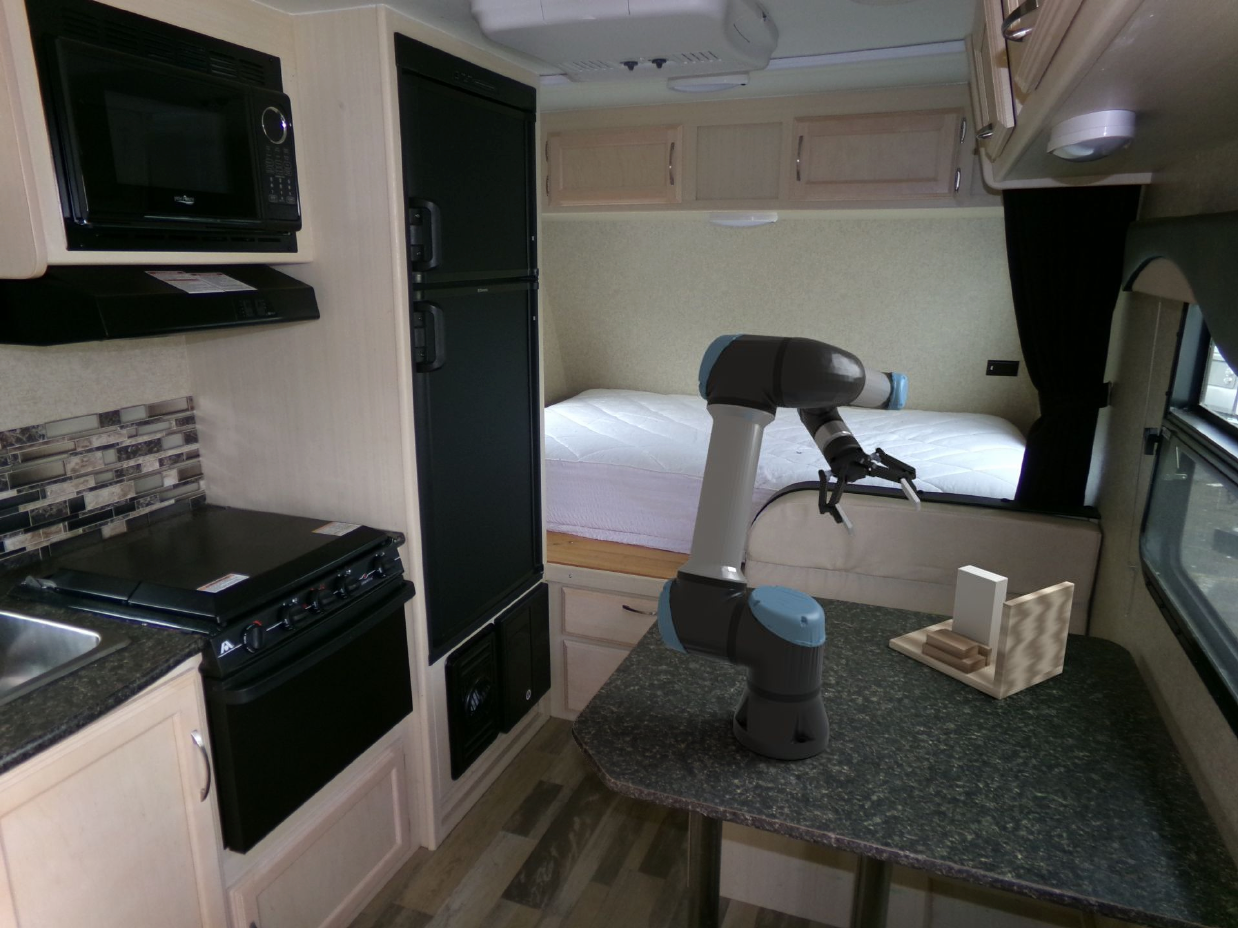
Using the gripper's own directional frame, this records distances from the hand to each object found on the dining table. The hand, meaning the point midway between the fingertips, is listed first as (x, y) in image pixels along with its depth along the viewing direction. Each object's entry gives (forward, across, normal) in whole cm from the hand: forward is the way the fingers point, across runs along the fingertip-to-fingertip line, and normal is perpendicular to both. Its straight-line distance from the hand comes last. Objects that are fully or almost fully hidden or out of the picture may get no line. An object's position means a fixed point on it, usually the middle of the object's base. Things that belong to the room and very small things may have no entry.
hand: (885, 519), depth 158 cm
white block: (+21, -6, -22) cm, 30 cm away
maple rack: (+21, -6, -23) cm, 32 cm away
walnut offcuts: (+22, -1, -18) cm, 29 cm away
